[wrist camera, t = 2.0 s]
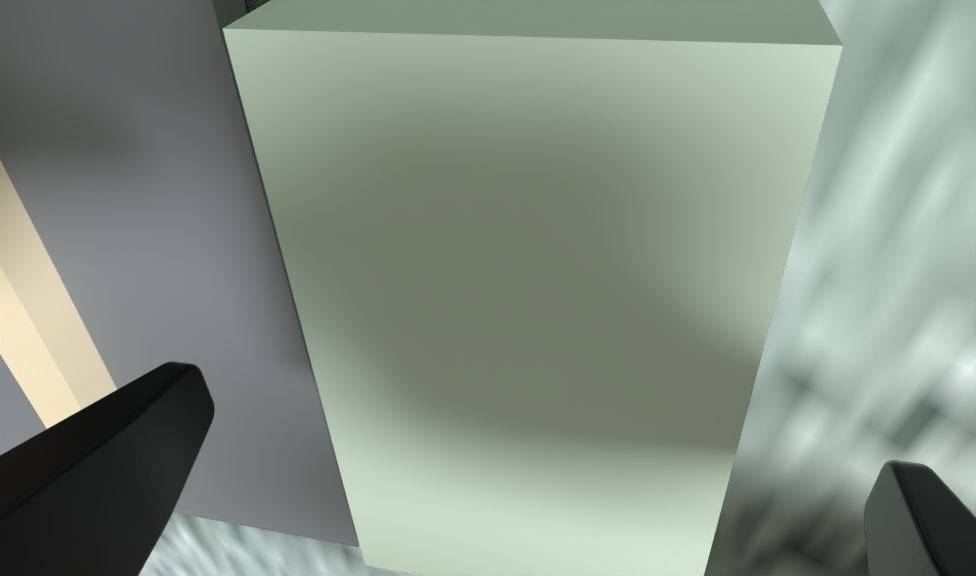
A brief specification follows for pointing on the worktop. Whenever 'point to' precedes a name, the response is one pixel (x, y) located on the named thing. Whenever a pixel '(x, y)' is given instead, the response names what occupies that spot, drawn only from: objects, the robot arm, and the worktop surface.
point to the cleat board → (153, 251)
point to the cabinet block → (535, 259)
